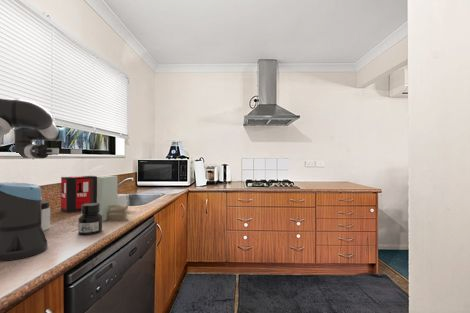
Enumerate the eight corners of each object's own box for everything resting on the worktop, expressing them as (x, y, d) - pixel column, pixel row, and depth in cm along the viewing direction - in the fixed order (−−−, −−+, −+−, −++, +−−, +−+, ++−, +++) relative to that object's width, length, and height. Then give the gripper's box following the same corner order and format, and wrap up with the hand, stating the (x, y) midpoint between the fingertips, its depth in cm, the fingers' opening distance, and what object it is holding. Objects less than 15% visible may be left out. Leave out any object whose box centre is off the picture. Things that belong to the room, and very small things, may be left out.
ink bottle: (72, 235, 104) (72, 206, 104) (84, 229, 113) (85, 202, 113) (96, 235, 104) (96, 206, 104) (106, 229, 113) (107, 202, 113)
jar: (22, 233, 105) (23, 205, 105) (25, 229, 112) (25, 202, 112) (49, 230, 110) (49, 203, 110) (50, 226, 117) (50, 200, 117)
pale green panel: (102, 221, 126) (102, 177, 126) (97, 221, 127) (97, 177, 127) (117, 216, 137) (117, 175, 137) (112, 216, 138) (112, 175, 138)
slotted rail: (124, 220, 128) (124, 206, 128) (88, 217, 133) (88, 204, 133) (127, 219, 131) (127, 205, 131) (91, 216, 136) (91, 203, 136)
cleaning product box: (90, 206, 164) (90, 175, 164) (96, 208, 158) (97, 176, 158) (60, 210, 150) (61, 177, 150) (66, 212, 145) (67, 178, 145)
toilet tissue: (114, 215, 140) (114, 197, 140) (100, 213, 145) (100, 195, 145) (130, 211, 150) (130, 194, 150) (116, 209, 155) (116, 193, 155)
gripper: (58, 158, 146) (89, 158, 141) (11, 158, 122) (46, 158, 117) (59, 145, 146) (89, 145, 141) (12, 142, 122) (47, 142, 117)
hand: (70, 151), depth 129 cm, fingers open, 13 cm apart
